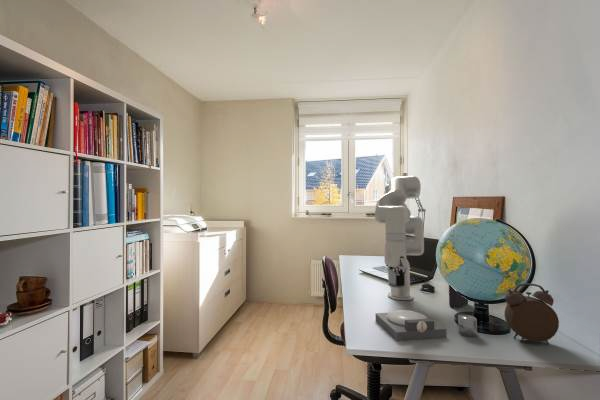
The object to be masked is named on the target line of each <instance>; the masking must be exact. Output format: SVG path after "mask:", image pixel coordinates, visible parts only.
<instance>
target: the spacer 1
mask: <svg viewBox="0 0 600 400" xmlns="http://www.w3.org/2000/svg"><path fill="white" fill-rule="evenodd" d="M399 271H400V269H399ZM387 273H388V274H387V275H388V277H387V279H388V286H389V287H404V286H397V285H396V275H397V272H396V269H388V268H387Z"/></svg>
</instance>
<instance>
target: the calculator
mask: <svg viewBox="0 0 600 400" xmlns="http://www.w3.org/2000/svg"><path fill="white" fill-rule="evenodd" d="M468 304H469V299H468V300H467V299H465V298H464V297H462V296H461V295H459V294H458V293H457V292H456V291H455V290H454V289H453V288H452V287H451V286H450V285H449V284H448V306H449V307H450V308H452V309H458V308H461V307H463V306H468Z"/></svg>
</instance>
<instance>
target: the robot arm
mask: <svg viewBox="0 0 600 400" xmlns="http://www.w3.org/2000/svg"><path fill="white" fill-rule="evenodd" d="M421 186H422V185H421V181H420V179H419V178H418V176H415V175H406V176H394V177H392V178H391V179H390V180H389V181H388V184H386V185H385V188H384V193H385V194H384V195H382V196H381V197H379V199H378V200H377V201H376V204H375V208H374V209H375V210H374V218H375V221H376V222H377V223H378V224H385V226H384V227H385V230H384V231H385V245H384V264H385V265H386V266H387V270H388V269H396V272H397V275H396V285H397V286H404V287H391V286H389V288H390V292H388V293H387V297H389V298H390V299H392V300H395V301H411V300H414V295H413V294H412V293H411V277H410V275H411V274H410V273H411V272H410V268H411V266H410V262H409V260H408V259H407V256H422V255H423V254H424V252H425V239H424V238H425V237H424V235H425V234H424V222H423V219H422V218H421V217H420V216H416V215H412V214H411V209H409V207H408V206H407V204H406V203H405V202H406V201H407V199H413V200H414V199H418V198H419V197H420V195H421V188H422V187H421ZM406 235H412V236H406ZM399 269H400V271H399Z"/></svg>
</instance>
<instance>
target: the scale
mask: <svg viewBox="0 0 600 400" xmlns="http://www.w3.org/2000/svg"><path fill="white" fill-rule="evenodd" d="M375 322H376V323H378V324H379V326H380V327H382V328H383V329H384V330H385V331H386V332H387V333H388V335H390V336H391V337H392V338H393V339H394V340H395V341H396V342H403V341H405V342H406V341H414V340H415V341H416V340H427V339H429V340H431V339H440V338H441V339H442V338H448V337H447V328H446V327H444V326H443V325H441V324H439V323H438V322H437V321H435V320H434V319H432V318H430V317H429V316H427V315H425V314H424V313H422V311H421V312H420V311H419V310H407V309H395V310H390V311H388V312H377V313H375Z"/></svg>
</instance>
